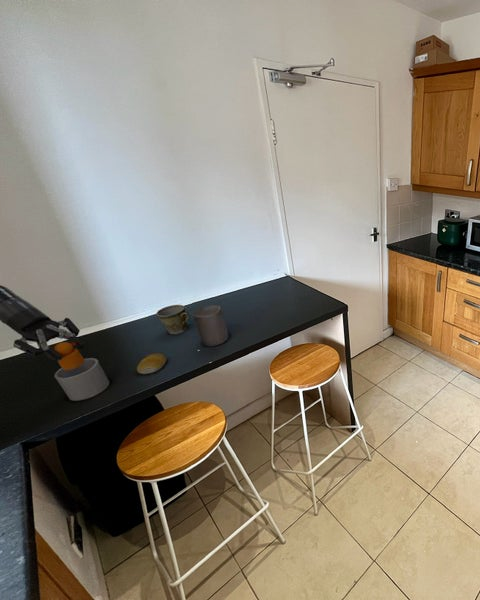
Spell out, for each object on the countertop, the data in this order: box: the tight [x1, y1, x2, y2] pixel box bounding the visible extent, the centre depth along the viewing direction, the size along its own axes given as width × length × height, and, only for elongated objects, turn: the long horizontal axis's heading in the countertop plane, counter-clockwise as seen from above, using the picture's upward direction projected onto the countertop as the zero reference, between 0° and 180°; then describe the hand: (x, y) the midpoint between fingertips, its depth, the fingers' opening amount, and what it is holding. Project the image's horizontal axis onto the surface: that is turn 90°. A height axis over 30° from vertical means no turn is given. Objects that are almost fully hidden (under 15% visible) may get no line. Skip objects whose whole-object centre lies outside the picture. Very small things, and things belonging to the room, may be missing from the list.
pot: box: [54, 357, 110, 402], centre depth 102 cm, size 10×10×9 cm
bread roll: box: [136, 353, 168, 375], centre depth 114 cm, size 8×9×4 cm
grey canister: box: [192, 304, 230, 347], centre depth 126 cm, size 10×10×15 cm
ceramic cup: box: [156, 304, 191, 335], centre depth 134 cm, size 13×10×10 cm
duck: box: [53, 341, 85, 370], centre depth 97 cm, size 6×5×8 cm
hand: (71, 352), depth 97 cm, fingers closed on duck, 5 cm apart
